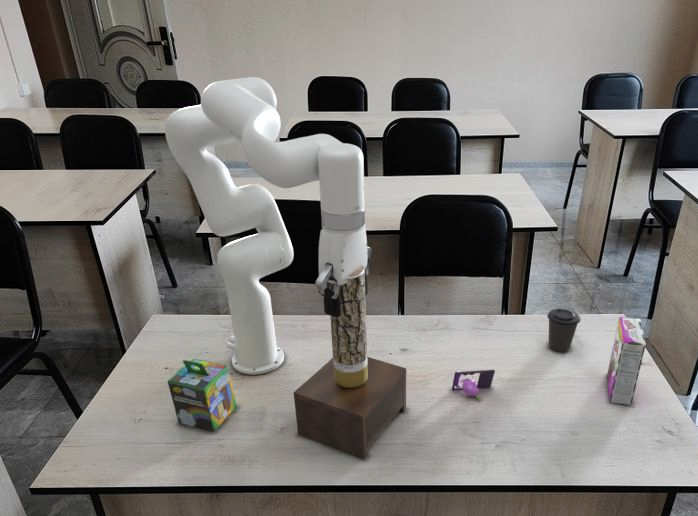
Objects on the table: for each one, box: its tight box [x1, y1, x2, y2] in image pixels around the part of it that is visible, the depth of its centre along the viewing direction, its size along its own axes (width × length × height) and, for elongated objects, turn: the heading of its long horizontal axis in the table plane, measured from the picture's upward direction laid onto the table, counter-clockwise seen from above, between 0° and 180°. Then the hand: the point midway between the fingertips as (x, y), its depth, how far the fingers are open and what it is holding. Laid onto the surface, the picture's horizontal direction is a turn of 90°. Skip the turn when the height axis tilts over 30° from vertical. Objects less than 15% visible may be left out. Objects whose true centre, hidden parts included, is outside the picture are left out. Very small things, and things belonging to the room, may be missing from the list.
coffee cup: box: [546, 307, 582, 354], centre depth 152 cm, size 8×8×10 cm
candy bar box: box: [606, 316, 647, 406], centre depth 135 cm, size 11×5×16 cm, turn 167°
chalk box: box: [167, 358, 238, 433], centre depth 127 cm, size 9×9×15 cm
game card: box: [451, 369, 496, 401], centre depth 136 cm, size 7×5×9 cm
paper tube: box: [329, 266, 368, 388], centre depth 117 cm, size 7×7×25 cm
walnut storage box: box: [293, 356, 407, 461], centre depth 126 cm, size 16×18×11 cm
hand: (346, 303), depth 114 cm, fingers open, 9 cm apart
